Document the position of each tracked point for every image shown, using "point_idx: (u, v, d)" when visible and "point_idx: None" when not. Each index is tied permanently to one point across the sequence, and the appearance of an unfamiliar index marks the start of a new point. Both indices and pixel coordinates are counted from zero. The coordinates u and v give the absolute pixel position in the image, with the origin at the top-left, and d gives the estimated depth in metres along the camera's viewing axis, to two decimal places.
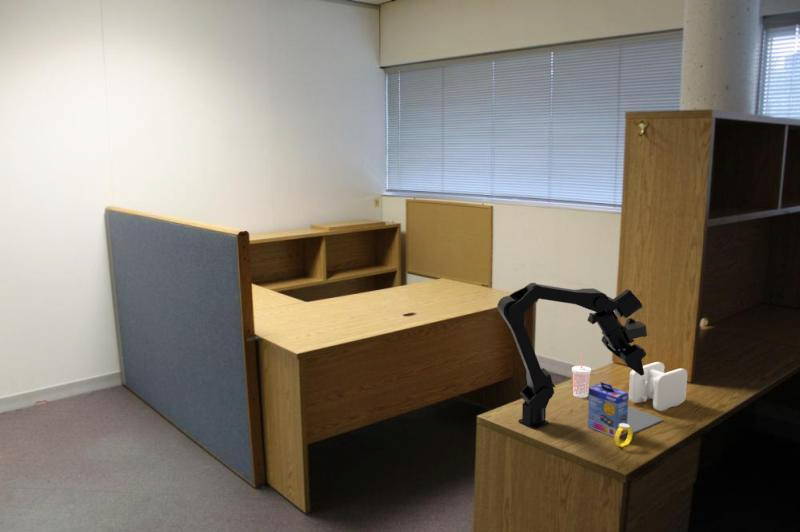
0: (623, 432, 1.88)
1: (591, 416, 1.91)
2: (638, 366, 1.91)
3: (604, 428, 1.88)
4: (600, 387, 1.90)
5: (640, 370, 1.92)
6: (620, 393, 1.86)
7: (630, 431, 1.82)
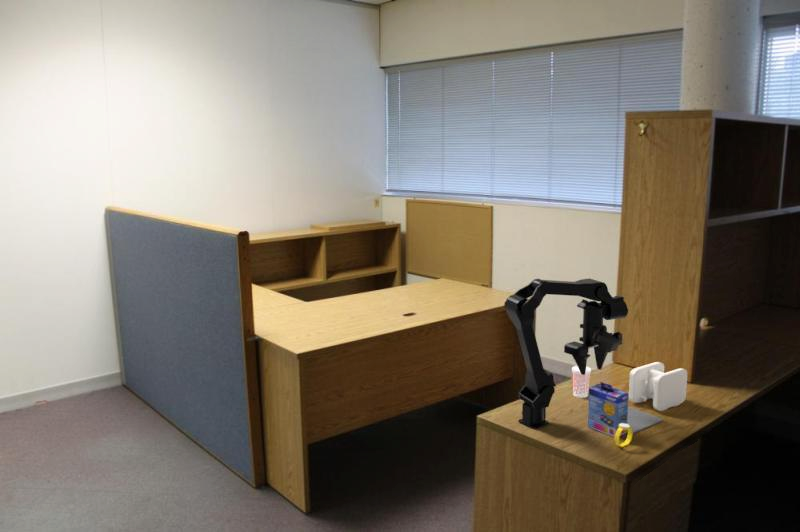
0: (623, 432, 1.88)
1: (591, 416, 1.91)
2: (580, 363, 1.97)
3: (604, 428, 1.88)
4: (600, 387, 1.90)
5: (581, 368, 1.98)
6: (620, 393, 1.86)
7: (630, 431, 1.82)
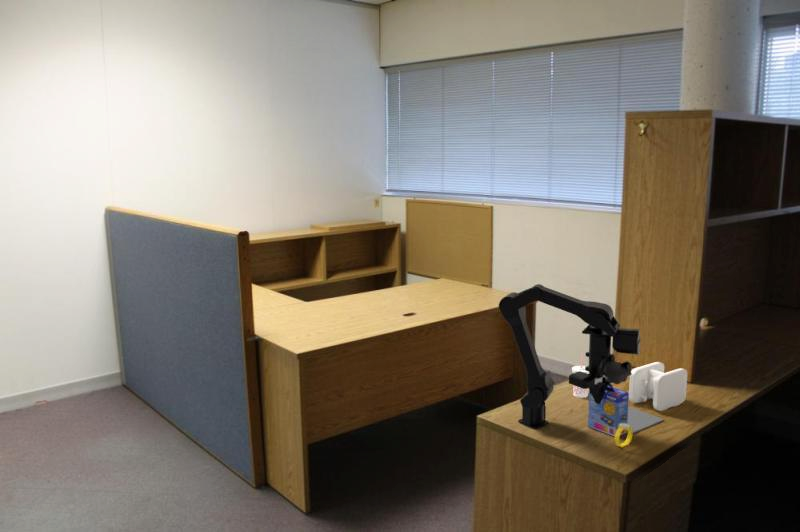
0: (623, 432, 1.88)
1: (591, 415, 1.91)
2: (595, 392, 1.85)
3: (605, 428, 1.88)
4: None
5: (595, 397, 1.86)
6: (620, 392, 1.86)
7: (630, 431, 1.82)
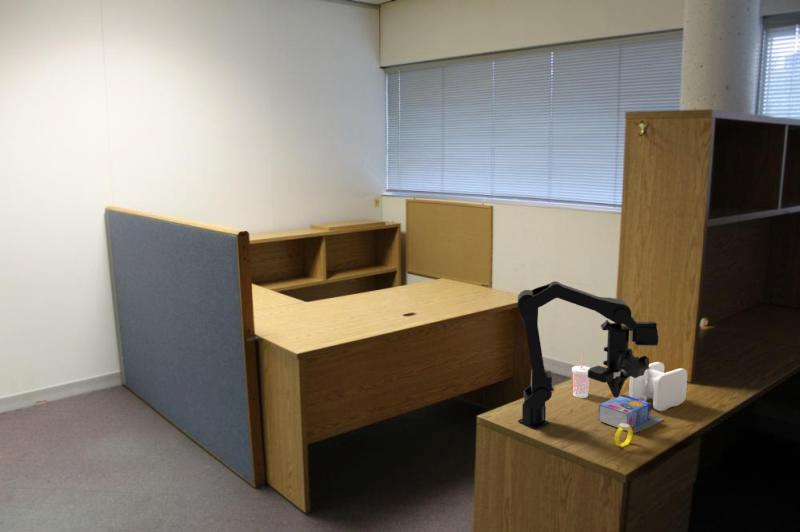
0: (629, 424, 1.89)
1: (610, 401, 1.97)
2: (613, 386, 1.90)
3: (619, 408, 1.92)
4: None
5: (613, 391, 1.90)
6: None
7: (630, 431, 1.82)
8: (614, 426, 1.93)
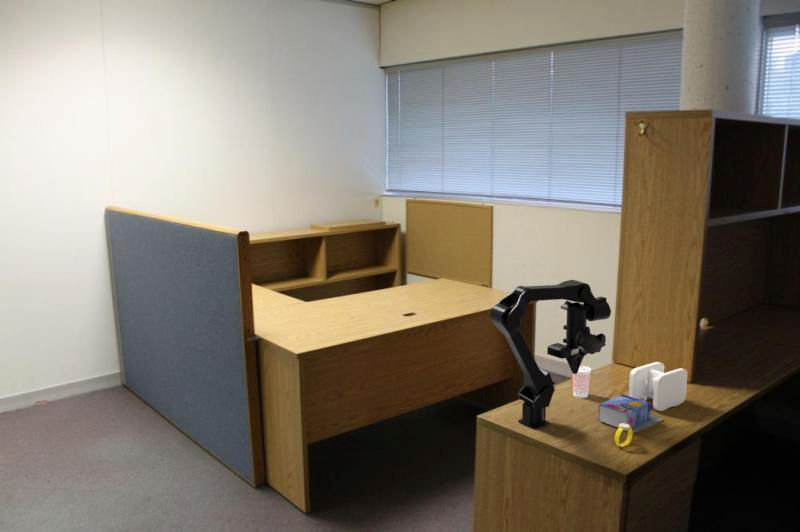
0: (629, 424, 1.89)
1: (610, 401, 1.97)
2: (572, 362, 1.98)
3: (619, 408, 1.92)
4: None
5: (572, 367, 1.99)
6: None
7: (630, 431, 1.82)
8: (614, 426, 1.93)
